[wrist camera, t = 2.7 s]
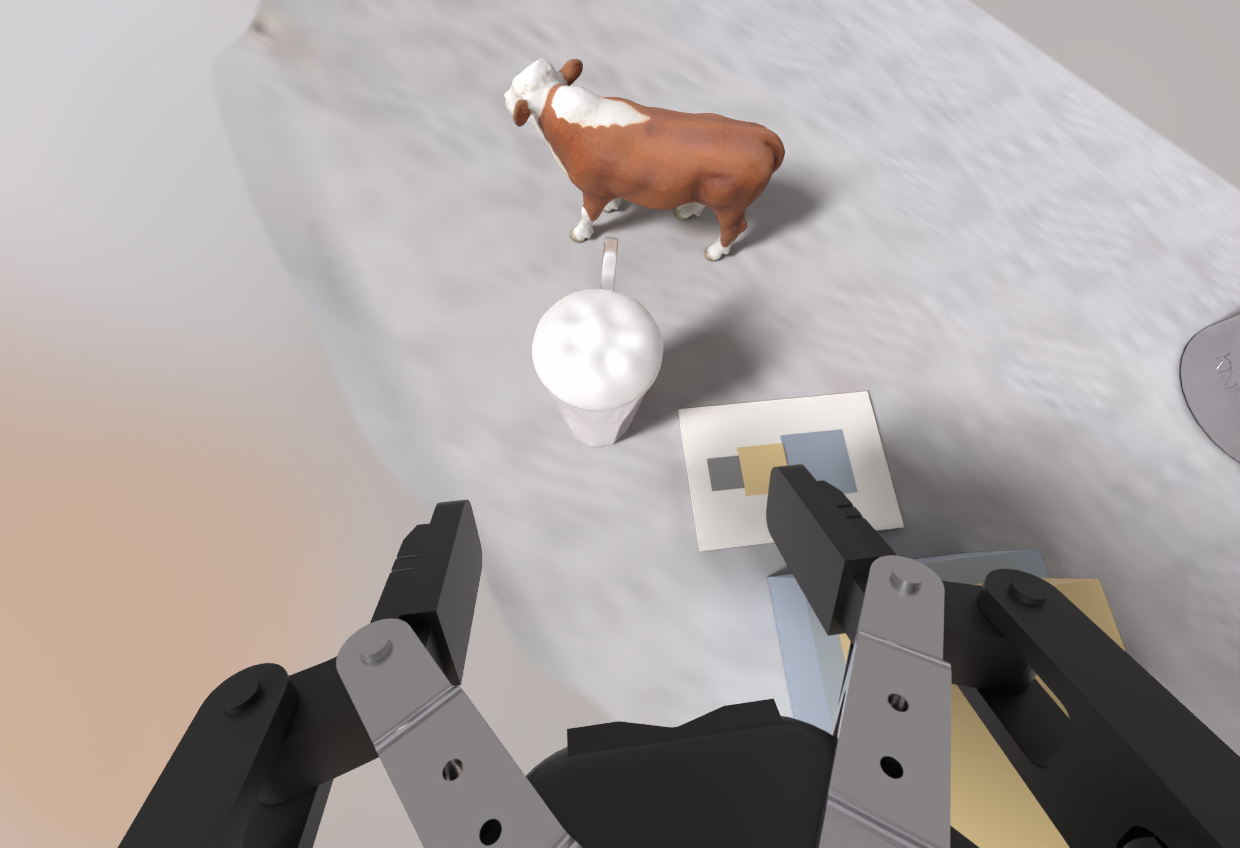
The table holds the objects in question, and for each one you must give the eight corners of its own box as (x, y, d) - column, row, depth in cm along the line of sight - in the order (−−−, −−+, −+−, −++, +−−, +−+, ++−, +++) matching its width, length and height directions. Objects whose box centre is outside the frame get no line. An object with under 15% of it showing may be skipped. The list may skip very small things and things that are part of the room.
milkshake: (649, 367, 26) (680, 247, 16) (636, 466, 24) (662, 398, 15) (563, 354, 26) (543, 226, 16) (545, 453, 24) (511, 377, 15)
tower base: (968, 552, 24) (1114, 545, 17) (1040, 793, 21) (1250, 899, 14) (767, 576, 23) (837, 579, 16) (815, 829, 20) (923, 960, 13)
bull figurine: (528, 170, 29) (502, 23, 21) (751, 217, 29) (808, 85, 21) (507, 231, 28) (472, 97, 20) (740, 280, 27) (797, 165, 20)
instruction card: (864, 393, 26) (868, 390, 25) (900, 527, 24) (905, 527, 24) (677, 411, 25) (678, 408, 25) (699, 551, 23) (700, 550, 23)
